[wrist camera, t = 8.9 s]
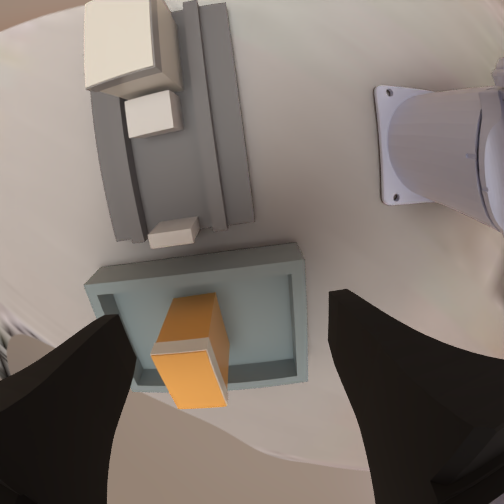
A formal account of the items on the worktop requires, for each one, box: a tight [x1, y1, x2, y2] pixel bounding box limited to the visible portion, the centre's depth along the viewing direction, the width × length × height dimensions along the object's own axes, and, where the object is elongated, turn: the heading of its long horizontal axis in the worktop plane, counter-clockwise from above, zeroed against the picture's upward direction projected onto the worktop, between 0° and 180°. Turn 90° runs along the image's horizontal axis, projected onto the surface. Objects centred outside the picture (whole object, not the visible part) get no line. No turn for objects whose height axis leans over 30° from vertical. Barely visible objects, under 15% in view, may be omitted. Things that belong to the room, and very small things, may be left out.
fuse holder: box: [90, 0, 255, 249], centre depth 14 cm, size 9×14×4 cm, turn 7°
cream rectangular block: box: [84, 0, 184, 100], centre depth 11 cm, size 3×5×6 cm
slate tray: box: [84, 243, 308, 393], centre depth 19 cm, size 14×10×3 cm
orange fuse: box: [150, 292, 230, 409], centre depth 17 cm, size 3×5×6 cm
